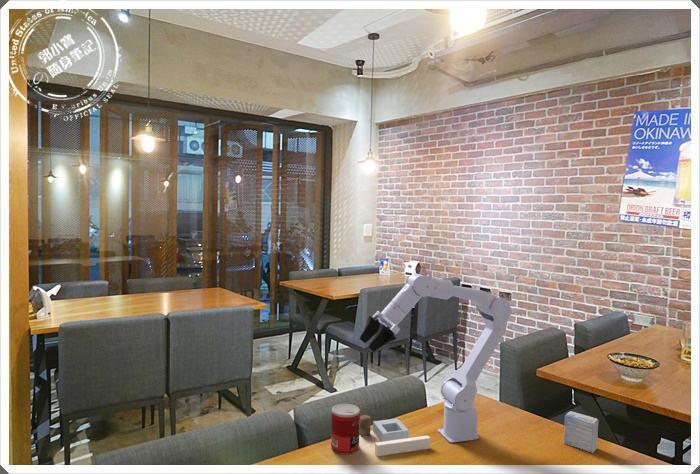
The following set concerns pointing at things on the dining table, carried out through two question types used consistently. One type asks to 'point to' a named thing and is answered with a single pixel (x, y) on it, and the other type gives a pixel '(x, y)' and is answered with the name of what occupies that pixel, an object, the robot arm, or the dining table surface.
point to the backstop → (402, 445)
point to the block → (390, 430)
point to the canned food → (345, 428)
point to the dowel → (365, 425)
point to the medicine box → (581, 431)
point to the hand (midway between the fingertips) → (366, 345)
